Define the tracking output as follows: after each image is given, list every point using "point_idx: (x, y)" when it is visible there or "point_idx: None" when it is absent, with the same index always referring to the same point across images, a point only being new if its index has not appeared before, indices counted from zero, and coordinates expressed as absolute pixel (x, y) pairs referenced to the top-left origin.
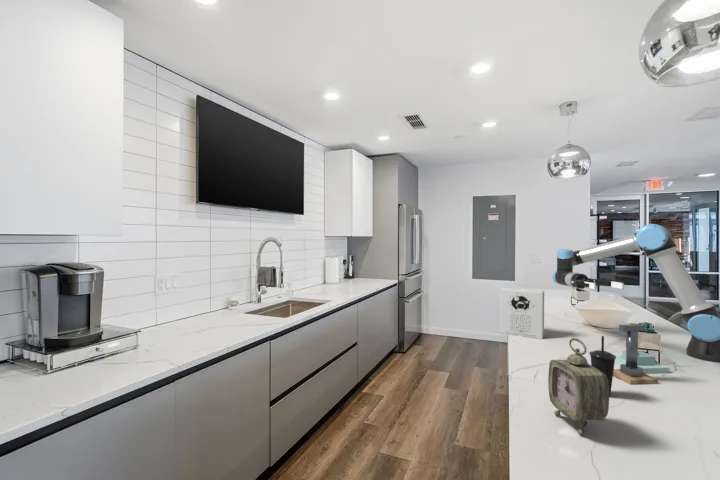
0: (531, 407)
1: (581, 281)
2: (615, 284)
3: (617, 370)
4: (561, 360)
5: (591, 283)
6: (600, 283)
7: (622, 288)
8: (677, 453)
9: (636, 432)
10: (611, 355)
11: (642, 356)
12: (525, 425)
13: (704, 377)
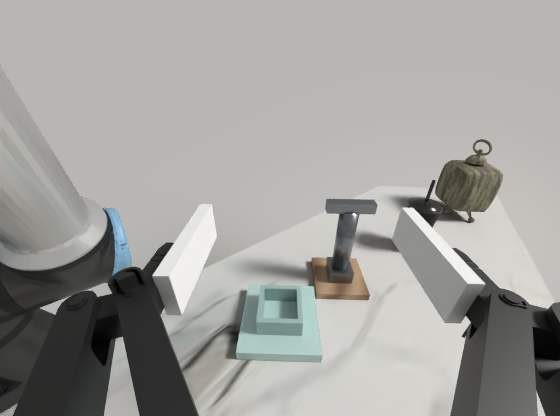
0: (499, 233)
1: (522, 305)
2: (194, 255)
3: (353, 289)
4: (491, 168)
5: (426, 227)
6: (194, 405)
7: (215, 232)
8: (388, 193)
9: (404, 205)
10: (415, 198)
11: (287, 287)
12: (499, 216)
13: (214, 271)
